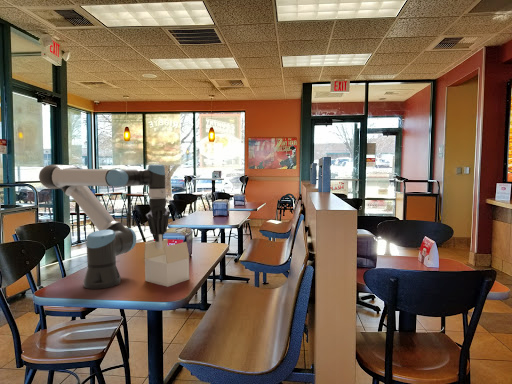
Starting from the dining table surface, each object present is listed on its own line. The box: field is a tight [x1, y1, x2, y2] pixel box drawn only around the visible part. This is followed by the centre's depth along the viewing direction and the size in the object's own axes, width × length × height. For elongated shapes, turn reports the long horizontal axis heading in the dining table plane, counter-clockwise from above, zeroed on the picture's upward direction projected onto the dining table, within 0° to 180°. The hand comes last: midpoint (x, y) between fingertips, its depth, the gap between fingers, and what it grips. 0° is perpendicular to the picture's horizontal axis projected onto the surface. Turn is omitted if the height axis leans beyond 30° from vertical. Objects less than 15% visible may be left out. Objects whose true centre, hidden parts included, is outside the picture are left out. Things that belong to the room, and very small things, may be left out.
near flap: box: [164, 241, 191, 264], centre depth 159 cm, size 13×8×1 cm
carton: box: [144, 254, 190, 288], centre depth 163 cm, size 13×15×10 cm
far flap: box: [143, 238, 169, 260], centre depth 167 cm, size 13×8×1 cm
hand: (159, 248), depth 166 cm, fingers closed
